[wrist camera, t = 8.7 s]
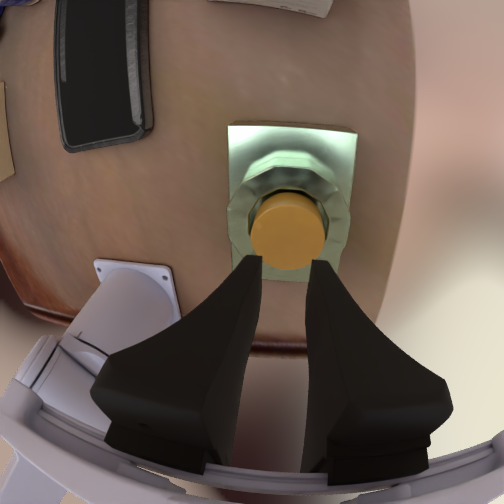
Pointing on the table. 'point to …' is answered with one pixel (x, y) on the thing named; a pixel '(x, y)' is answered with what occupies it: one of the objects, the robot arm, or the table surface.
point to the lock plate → (4, 141)
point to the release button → (288, 231)
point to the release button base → (290, 182)
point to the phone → (101, 72)
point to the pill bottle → (17, 2)
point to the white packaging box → (293, 5)
